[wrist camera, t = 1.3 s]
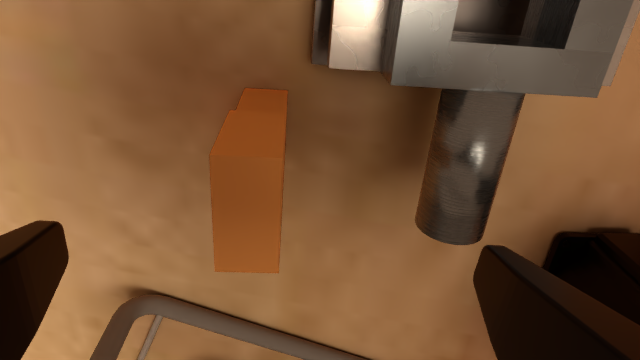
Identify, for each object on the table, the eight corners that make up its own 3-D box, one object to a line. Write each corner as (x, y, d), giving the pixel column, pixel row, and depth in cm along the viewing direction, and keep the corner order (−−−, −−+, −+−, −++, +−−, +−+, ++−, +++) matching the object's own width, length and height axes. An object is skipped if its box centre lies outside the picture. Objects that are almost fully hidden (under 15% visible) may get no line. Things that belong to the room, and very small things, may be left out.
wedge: (285, 158, 21) (278, 273, 13) (245, 156, 21) (214, 271, 13) (288, 79, 20) (282, 158, 12) (244, 77, 19) (209, 154, 11)
